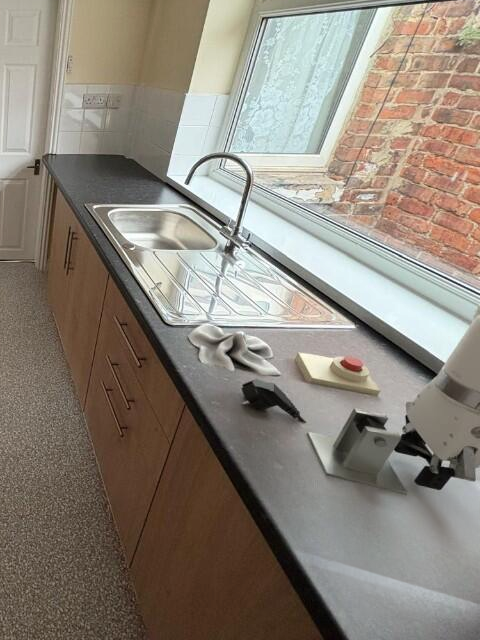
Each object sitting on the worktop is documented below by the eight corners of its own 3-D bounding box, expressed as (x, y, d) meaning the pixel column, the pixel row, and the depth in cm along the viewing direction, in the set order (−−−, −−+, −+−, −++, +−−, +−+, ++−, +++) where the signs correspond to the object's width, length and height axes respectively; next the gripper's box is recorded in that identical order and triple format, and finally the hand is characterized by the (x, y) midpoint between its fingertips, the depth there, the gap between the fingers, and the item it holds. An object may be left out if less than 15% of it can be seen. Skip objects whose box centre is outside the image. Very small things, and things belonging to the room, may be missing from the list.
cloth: (186, 321, 112) (191, 302, 109) (266, 336, 106) (273, 316, 103) (192, 376, 94) (199, 354, 91) (289, 398, 88) (300, 376, 85)
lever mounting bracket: (376, 452, 76) (403, 410, 71) (403, 498, 68) (436, 454, 63) (304, 436, 79) (326, 395, 74) (323, 478, 71) (348, 435, 67)
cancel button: (355, 364, 91) (359, 357, 91) (362, 373, 89) (366, 367, 88) (338, 360, 92) (341, 354, 92) (344, 370, 90) (348, 364, 89)
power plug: (312, 435, 78) (262, 386, 80) (274, 445, 83) (228, 399, 85) (312, 415, 82) (264, 369, 84) (275, 427, 87) (231, 383, 89)
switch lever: (416, 449, 71) (429, 441, 70) (434, 474, 67) (448, 466, 66) (351, 418, 72) (362, 410, 71) (365, 441, 68) (377, 433, 67)
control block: (356, 370, 95) (363, 356, 93) (376, 398, 87) (384, 384, 85) (294, 359, 98) (300, 345, 97) (308, 385, 91) (315, 371, 89)
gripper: (557, 442, 53) (480, 526, 62) (466, 357, 68) (413, 434, 76) (481, 427, 56) (416, 509, 64) (408, 348, 70) (363, 423, 78)
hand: (415, 468), depth 70 cm, fingers open, 5 cm apart
